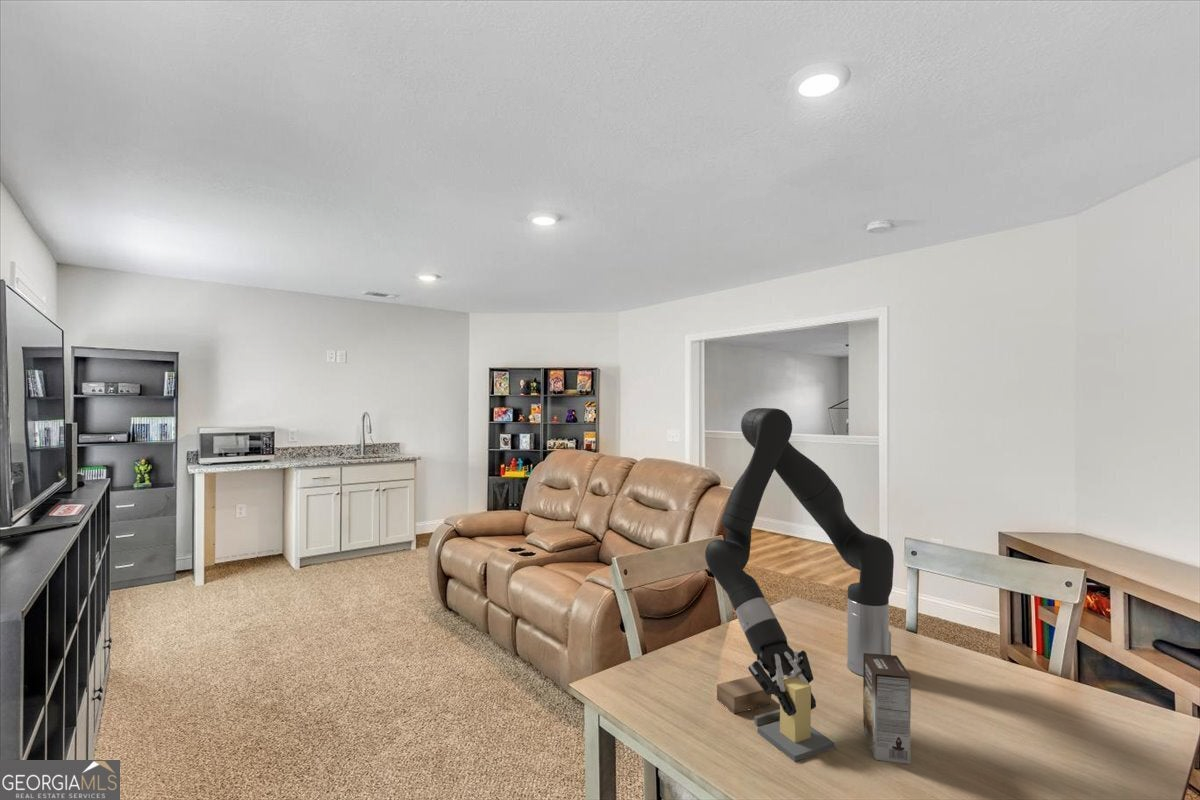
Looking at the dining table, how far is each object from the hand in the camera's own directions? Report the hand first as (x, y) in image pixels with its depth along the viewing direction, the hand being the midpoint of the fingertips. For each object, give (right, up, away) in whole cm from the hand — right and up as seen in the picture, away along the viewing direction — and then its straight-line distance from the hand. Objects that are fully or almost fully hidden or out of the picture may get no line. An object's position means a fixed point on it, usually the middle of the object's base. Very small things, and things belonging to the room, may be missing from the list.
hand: (802, 710), depth 108 cm
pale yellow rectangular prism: (-1, -6, +2) cm, 6 cm away
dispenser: (-6, -7, +13) cm, 16 cm away
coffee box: (+16, -7, -1) cm, 17 cm away
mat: (-1, -7, +2) cm, 7 cm away
